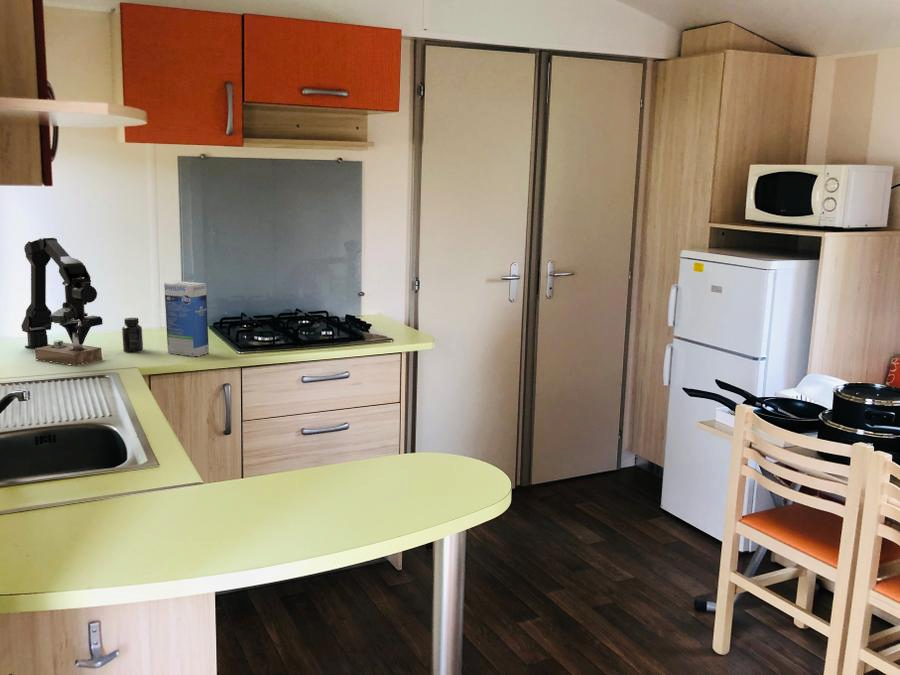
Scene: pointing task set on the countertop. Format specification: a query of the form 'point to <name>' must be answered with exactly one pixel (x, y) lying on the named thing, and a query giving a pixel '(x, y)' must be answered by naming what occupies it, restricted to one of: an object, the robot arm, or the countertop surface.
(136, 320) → the supplement bottle
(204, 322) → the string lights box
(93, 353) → the hole block
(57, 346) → the short grey peg
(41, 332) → the robot arm
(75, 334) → the steel pin
